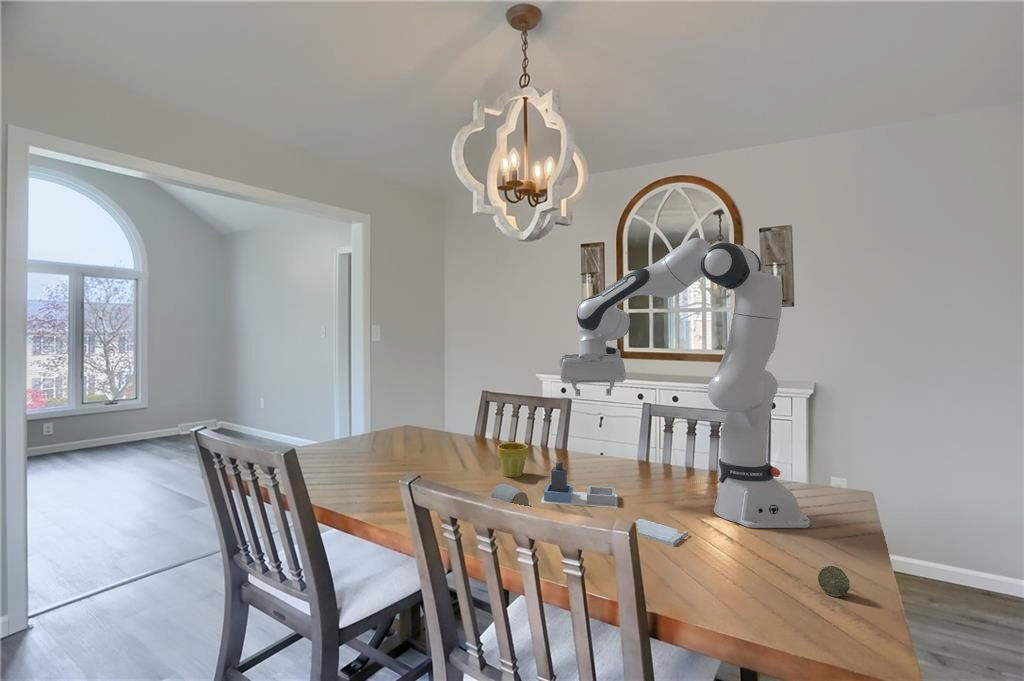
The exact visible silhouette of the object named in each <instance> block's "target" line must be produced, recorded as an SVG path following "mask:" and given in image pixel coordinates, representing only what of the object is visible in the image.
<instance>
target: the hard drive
mask: <svg viewBox="0 0 1024 681" xmlns="http://www.w3.org/2000/svg"><path fill="white" fill-rule="evenodd" d="M634 522H636V523H637V528H638V537H640V538H644V539H648V540H650V541H655V542H657V543H661V544H664V545H668V546H672V547H675V546H676V545H677V544H679V543H680V542H681V541H682V540H683V539H685V538H687V537H688V536H689V532H688V531H684V530H683V532H684V533H679V531H678V530H679V529H677V528H674V527H670V526H667V525H663V524H659V523H658V522H653V521H650V520H647V519H643V518H639V519H637V520H635V521H634Z"/></svg>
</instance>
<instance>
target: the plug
mask: <svg viewBox="0 0 1024 681" xmlns="http://www.w3.org/2000/svg"><path fill="white" fill-rule="evenodd" d="M563 466H564V464H563V461H555V466H554V467H552V469H551V474H550V476H551V478H550V479H551V480H550V481H551V482H550V484H551V491H553V492H567V485H568V484H567V482H568V480H567V479H568V477H567V476H568V474H567V472H568V471H567V470H568V468H567V467H563Z"/></svg>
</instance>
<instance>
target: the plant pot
mask: <svg viewBox="0 0 1024 681" xmlns="http://www.w3.org/2000/svg"><path fill="white" fill-rule="evenodd" d="M497 457H498V458H499V460H500V461H499V462H500V465H501V470H502V476H505V477H508V478H518V477H521V476H522V475H523V474H524V468H525V463H526V460H527V457H529V446H528V445H527V444H525V443H522V442H504V443H501V444H499V445H498V444H497Z"/></svg>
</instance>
